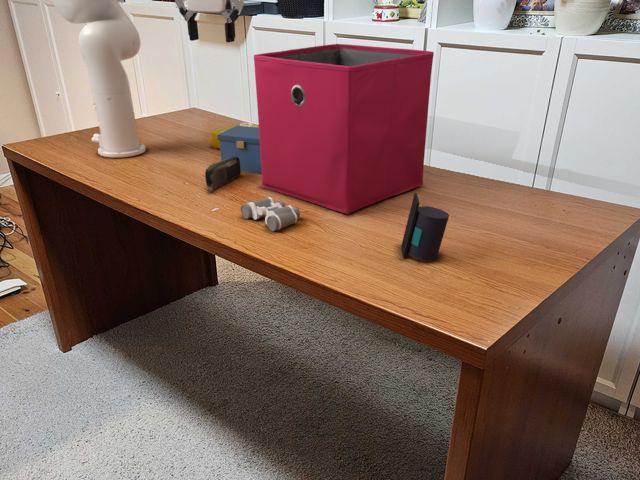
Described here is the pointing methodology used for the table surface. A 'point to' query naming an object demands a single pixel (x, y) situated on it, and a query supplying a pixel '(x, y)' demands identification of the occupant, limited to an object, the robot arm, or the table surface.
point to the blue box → (242, 147)
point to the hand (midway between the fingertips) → (212, 40)
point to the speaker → (424, 231)
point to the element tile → (215, 132)
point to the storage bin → (343, 122)
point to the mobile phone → (222, 172)
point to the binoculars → (271, 213)
